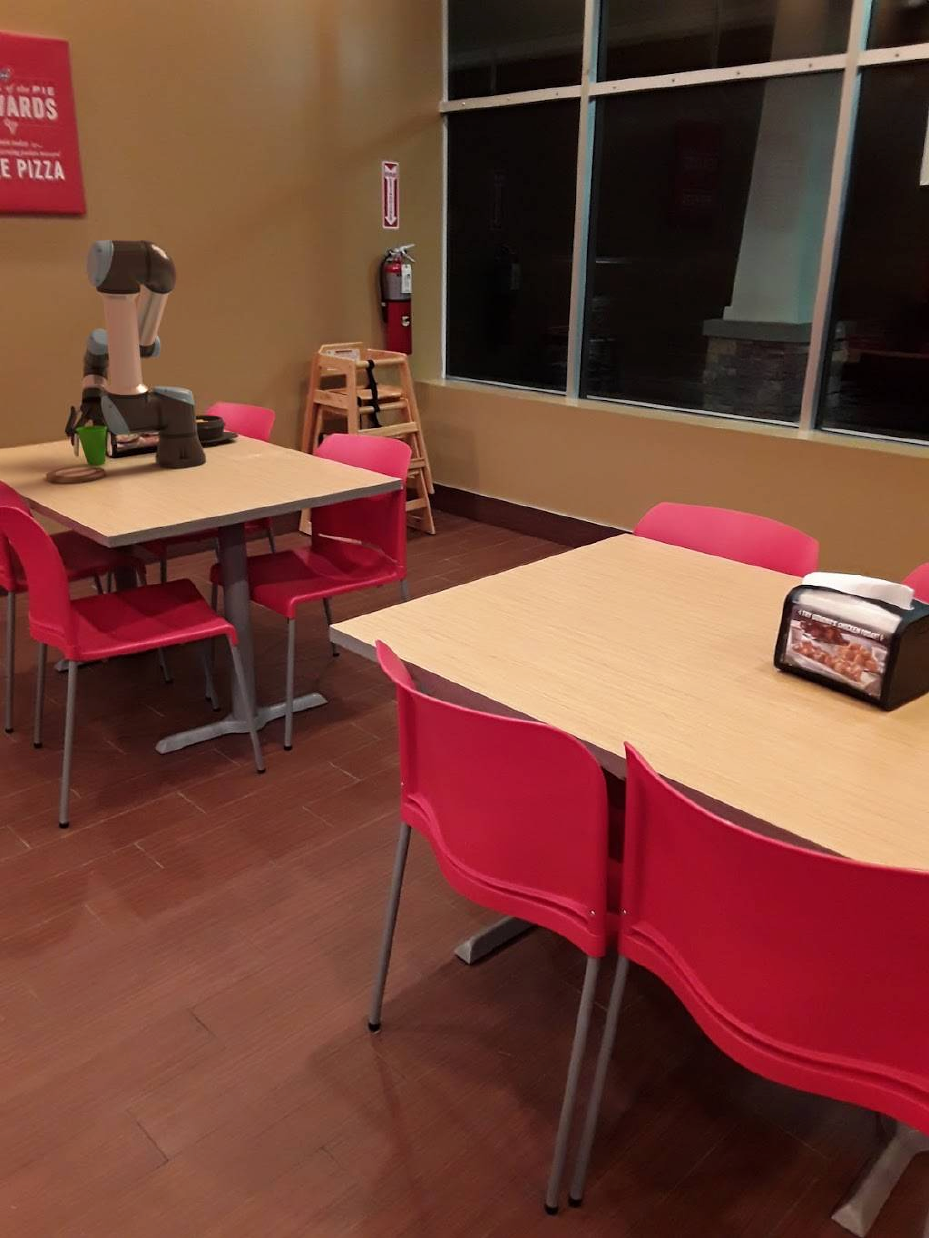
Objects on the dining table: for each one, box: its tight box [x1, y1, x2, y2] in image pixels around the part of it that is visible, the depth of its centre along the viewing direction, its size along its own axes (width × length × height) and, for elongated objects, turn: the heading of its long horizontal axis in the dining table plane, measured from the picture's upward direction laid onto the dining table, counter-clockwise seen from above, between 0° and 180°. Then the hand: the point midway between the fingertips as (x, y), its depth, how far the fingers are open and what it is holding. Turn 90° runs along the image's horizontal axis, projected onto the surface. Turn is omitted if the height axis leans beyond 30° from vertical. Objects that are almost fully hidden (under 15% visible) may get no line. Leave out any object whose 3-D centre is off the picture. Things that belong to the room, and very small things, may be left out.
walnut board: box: [45, 465, 106, 485], centre depth 274 cm, size 16×16×2 cm
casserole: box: [196, 414, 239, 447], centre depth 321 cm, size 25×19×8 cm
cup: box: [76, 425, 108, 466], centre depth 289 cm, size 9×9×11 cm
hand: (92, 453), depth 287 cm, fingers closed on cup, 9 cm apart
